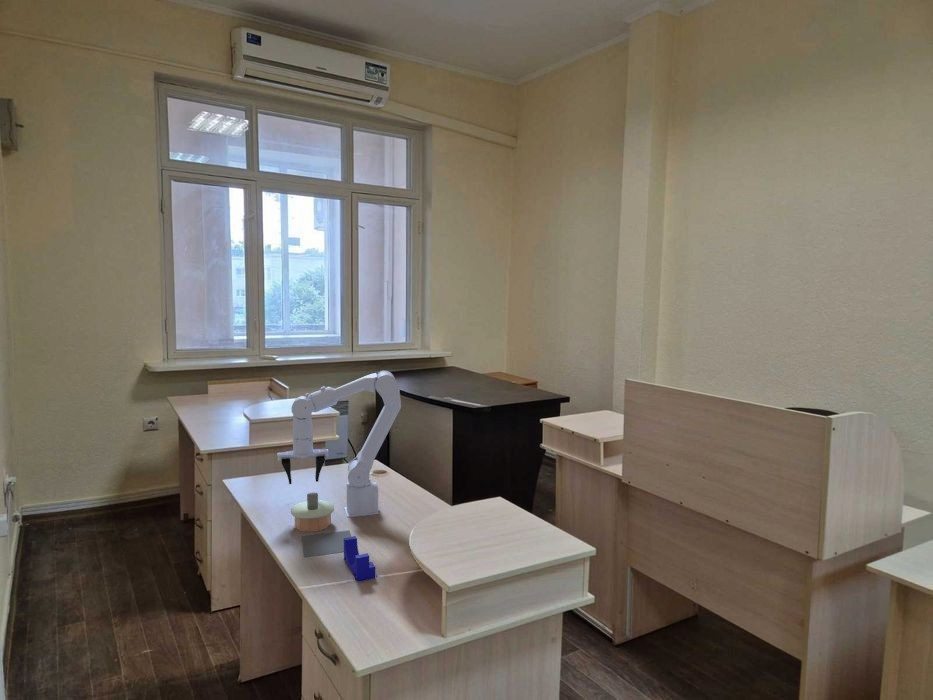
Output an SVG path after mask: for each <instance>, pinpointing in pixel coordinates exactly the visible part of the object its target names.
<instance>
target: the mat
mask: <svg viewBox="0 0 933 700" xmlns="http://www.w3.org/2000/svg"><path fill="white" fill-rule="evenodd" d="M347 537H352V534H351V531H350V529H348V530H342V531H333V532H331V531H330V532H323V533H317V534H316V533H315V534H308V535H307V534H306V535H301V543H302V551H303V558H311V557H317V556H325V555H326V556H327V555H333V554H341V553H344V538H347Z"/></svg>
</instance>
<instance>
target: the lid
mask: <svg viewBox="0 0 933 700" xmlns="http://www.w3.org/2000/svg"><path fill="white" fill-rule="evenodd" d="M334 511H335V504H334V503H332V502H330V501H327V500H321V499H319V494H318V492H309V493H307V494H306V501H305V500H304V501H301V502H298V503H297V504H294V505H293V506H292V507H291V509H290V514H291V515H292V516H293V517H294V518H295V517H297V518H301V519H315V518H321V517H324V516H327V515H329V514H331V515H332V513H334Z"/></svg>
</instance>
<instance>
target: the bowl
mask: <svg viewBox="0 0 933 700" xmlns="http://www.w3.org/2000/svg"><path fill="white" fill-rule="evenodd" d="M330 525H332V513H331V514H329V515H327V516H324V517H321V518H315V519H301V518H297V517H294V528H295V529H297V530H298V531H302V532H308V533H309V532H317V531H321V530H325V529H326V528H329V526H330Z"/></svg>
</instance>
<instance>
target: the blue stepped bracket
mask: <svg viewBox="0 0 933 700" xmlns="http://www.w3.org/2000/svg"><path fill="white" fill-rule="evenodd" d="M343 560H344V561H345V563H346V565H347V566H348V568H349V570H350V572H351V573H352V575H353V576H354V580H355V581H356V583H359V582H364V581H369V580H375V579H376V565H375V564H374V562H372V561H370V554H369V553H362V554H360V553H359V547H358V538H357V536H356V535H353V536H351V537H347V538H344V552H343Z"/></svg>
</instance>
